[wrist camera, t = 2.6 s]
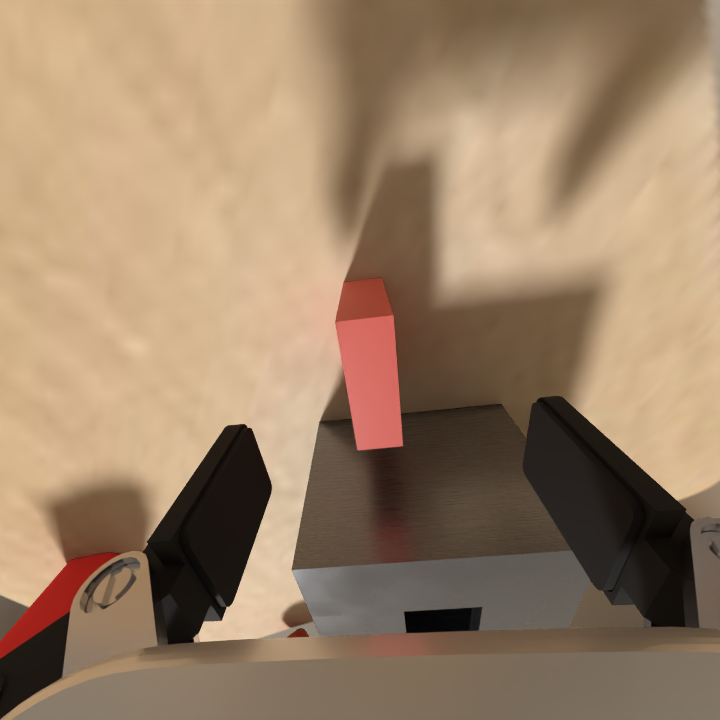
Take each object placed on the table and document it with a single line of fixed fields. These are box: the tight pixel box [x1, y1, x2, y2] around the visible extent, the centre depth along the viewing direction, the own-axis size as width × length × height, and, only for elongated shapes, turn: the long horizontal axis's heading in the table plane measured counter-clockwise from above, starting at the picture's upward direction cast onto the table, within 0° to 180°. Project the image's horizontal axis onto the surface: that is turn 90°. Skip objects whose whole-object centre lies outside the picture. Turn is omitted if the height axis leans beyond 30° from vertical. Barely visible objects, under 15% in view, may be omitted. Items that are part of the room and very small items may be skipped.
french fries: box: [0, 553, 120, 658], centre depth 22 cm, size 9×4×13 cm, turn 106°
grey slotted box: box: [292, 404, 590, 636], centre depth 19 cm, size 16×12×9 cm
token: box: [335, 277, 403, 450], centre depth 14 cm, size 6×2×6 cm, turn 7°
